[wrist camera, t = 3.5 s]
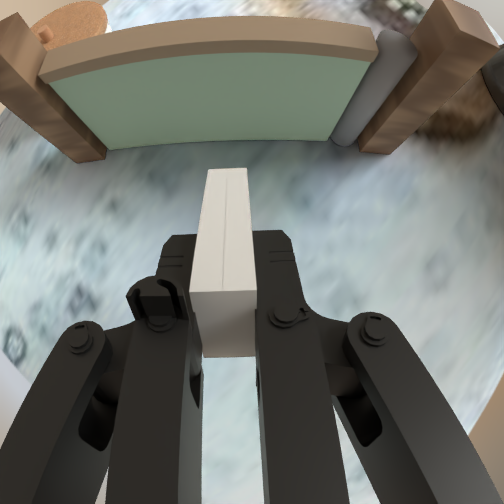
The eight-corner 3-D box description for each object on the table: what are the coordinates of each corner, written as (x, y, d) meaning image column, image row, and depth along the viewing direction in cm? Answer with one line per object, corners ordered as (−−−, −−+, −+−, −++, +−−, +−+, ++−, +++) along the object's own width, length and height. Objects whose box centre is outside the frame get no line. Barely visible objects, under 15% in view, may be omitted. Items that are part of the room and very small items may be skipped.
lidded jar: (39, 144, 24) (-15, 101, 15) (43, 71, 25) (5, 26, 16) (134, 101, 25) (98, 37, 16) (125, 33, 26) (100, -25, 17)
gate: (353, 123, 25) (410, 34, 13) (357, 147, 25) (422, 64, 13) (112, 130, 24) (48, 48, 12) (109, 154, 24) (37, 78, 12)
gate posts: (384, 125, 25) (478, 11, 9) (390, 154, 25) (500, 48, 9) (81, 134, 25) (-18, 31, 9) (76, 163, 24) (-38, 69, 8)
